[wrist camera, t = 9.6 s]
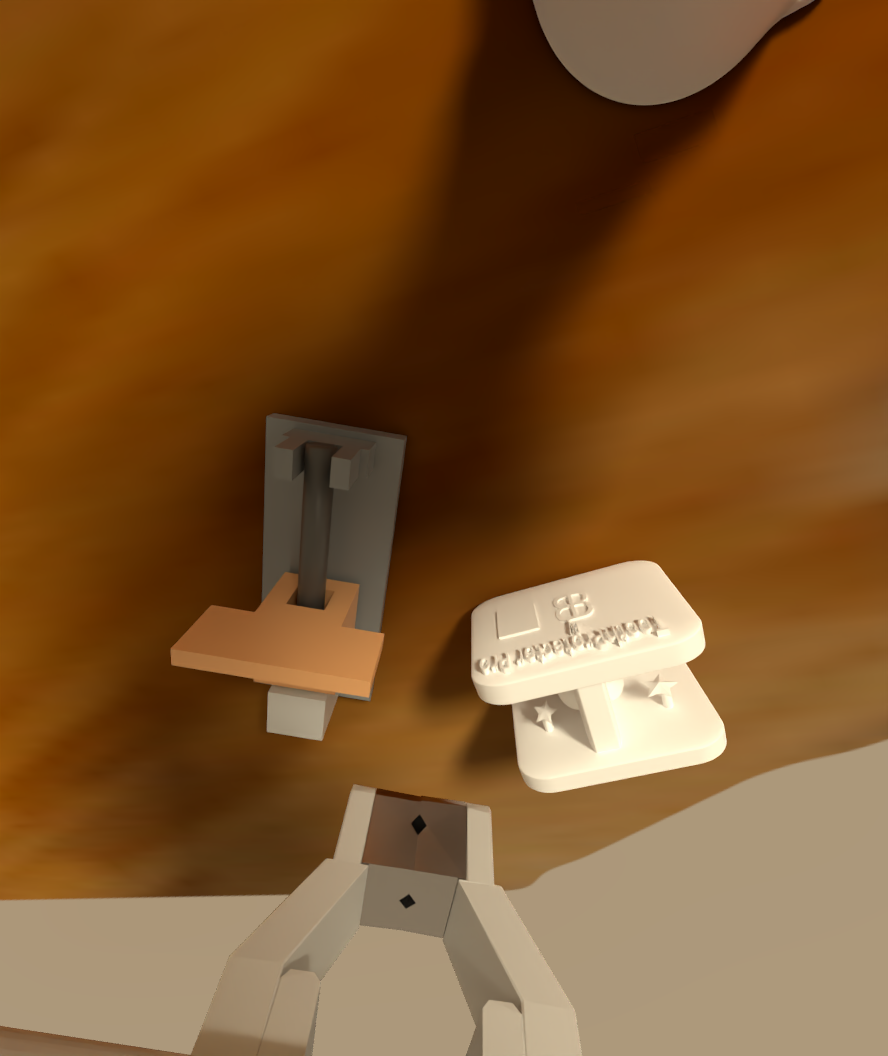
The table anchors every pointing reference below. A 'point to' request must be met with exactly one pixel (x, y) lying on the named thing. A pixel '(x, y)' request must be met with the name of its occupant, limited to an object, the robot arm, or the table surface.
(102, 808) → the table surface
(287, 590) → the orange piece
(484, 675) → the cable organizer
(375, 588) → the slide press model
